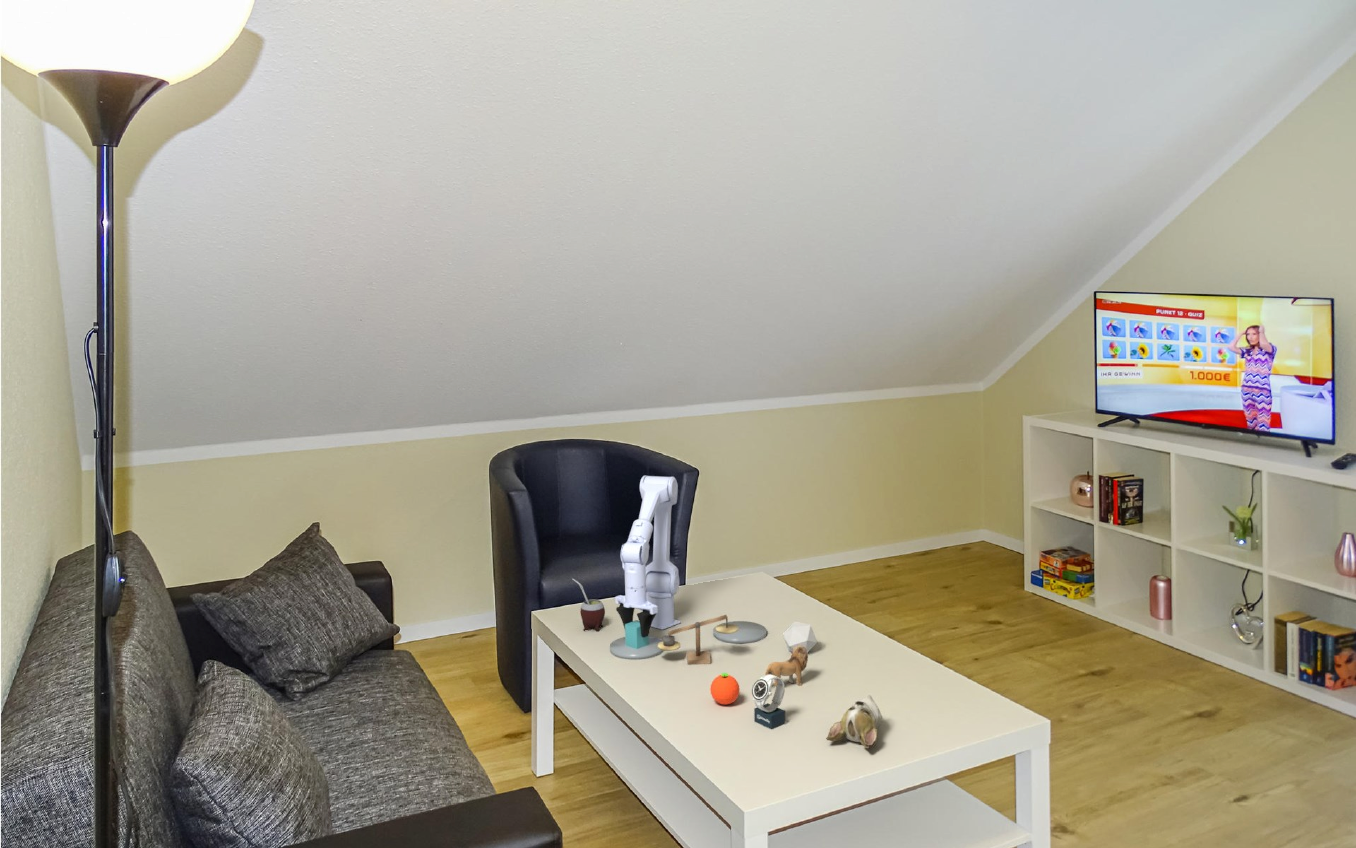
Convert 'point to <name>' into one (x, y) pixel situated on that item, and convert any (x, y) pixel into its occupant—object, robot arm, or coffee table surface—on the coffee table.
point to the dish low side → (626, 652)
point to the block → (635, 635)
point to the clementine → (724, 689)
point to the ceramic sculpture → (858, 723)
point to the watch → (769, 712)
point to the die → (799, 636)
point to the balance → (697, 655)
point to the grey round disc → (742, 633)
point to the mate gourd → (591, 612)
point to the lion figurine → (790, 665)
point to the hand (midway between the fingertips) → (636, 633)
